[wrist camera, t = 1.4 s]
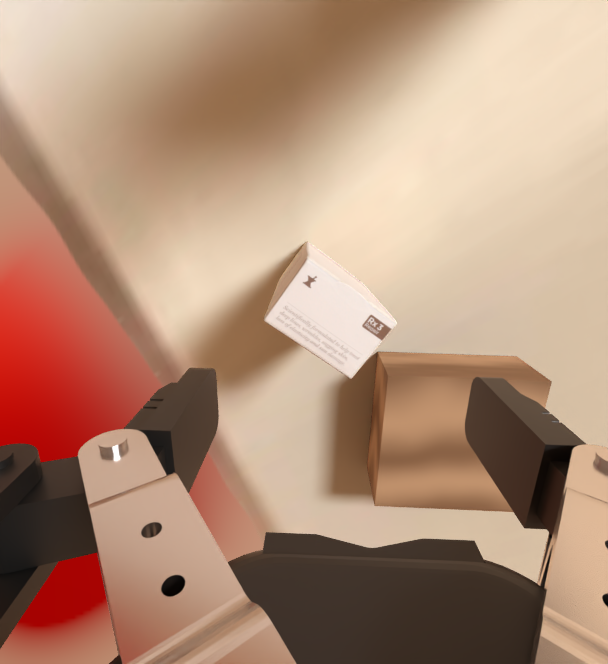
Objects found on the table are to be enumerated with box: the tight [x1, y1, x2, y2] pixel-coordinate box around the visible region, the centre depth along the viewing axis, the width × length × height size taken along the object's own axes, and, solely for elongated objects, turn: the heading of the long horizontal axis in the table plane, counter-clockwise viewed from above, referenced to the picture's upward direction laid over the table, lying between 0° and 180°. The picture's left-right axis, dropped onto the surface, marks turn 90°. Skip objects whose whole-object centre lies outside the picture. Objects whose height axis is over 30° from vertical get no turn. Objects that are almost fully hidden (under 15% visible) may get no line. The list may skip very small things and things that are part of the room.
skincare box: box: [264, 241, 397, 379], centre depth 25 cm, size 6×4×12 cm
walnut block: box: [367, 352, 551, 512], centre depth 32 cm, size 12×12×5 cm
